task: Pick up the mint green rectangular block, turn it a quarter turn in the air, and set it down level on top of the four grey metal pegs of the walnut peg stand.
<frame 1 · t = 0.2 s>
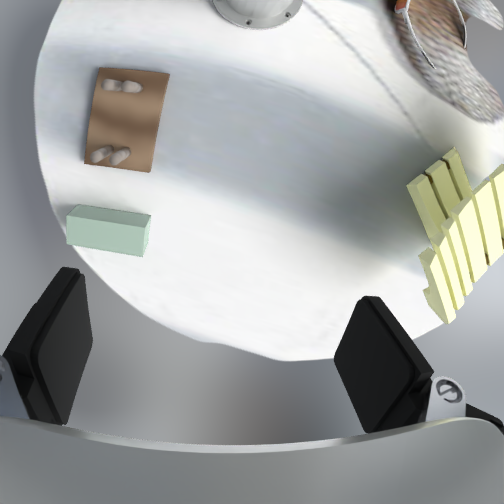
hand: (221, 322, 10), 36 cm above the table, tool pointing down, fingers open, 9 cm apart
slatted curved stool: (444, 199, 51), on the table
peg stand: (125, 118, 38), on the table
mint green rectangular block: (112, 222, 45), on the table
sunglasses: (428, 22, 35), on the table
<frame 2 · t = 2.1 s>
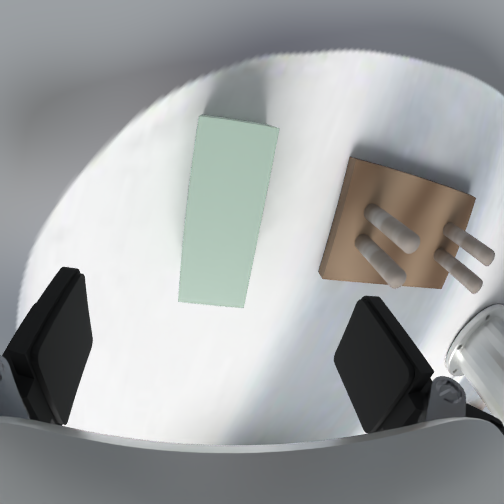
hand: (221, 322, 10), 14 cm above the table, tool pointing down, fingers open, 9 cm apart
peg stand: (402, 229, 26), on the table
mint green rectangular block: (221, 198, 23), on the table
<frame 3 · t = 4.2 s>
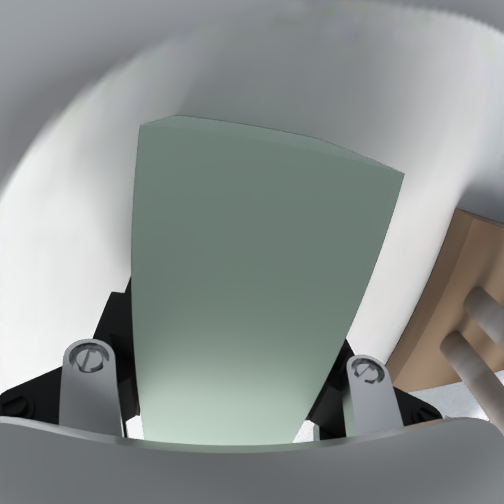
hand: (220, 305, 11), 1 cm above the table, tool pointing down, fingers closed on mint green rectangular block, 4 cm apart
peg stand: (493, 307, 15), on the table
mint green rectangular block: (219, 292, 12), on the table, touching gripper
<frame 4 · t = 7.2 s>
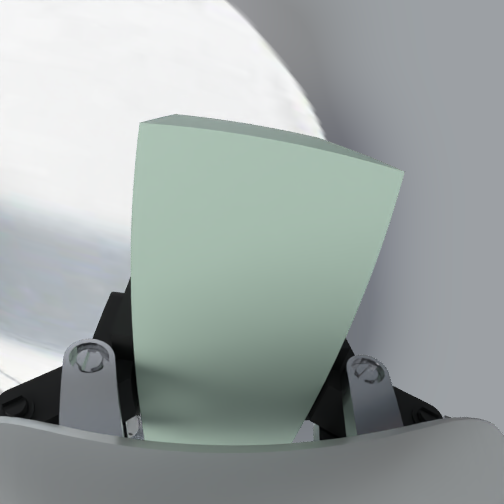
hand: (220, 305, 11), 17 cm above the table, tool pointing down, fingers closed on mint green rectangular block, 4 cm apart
mint green rectangular block: (219, 292, 12), point 16 cm above the table, touching gripper
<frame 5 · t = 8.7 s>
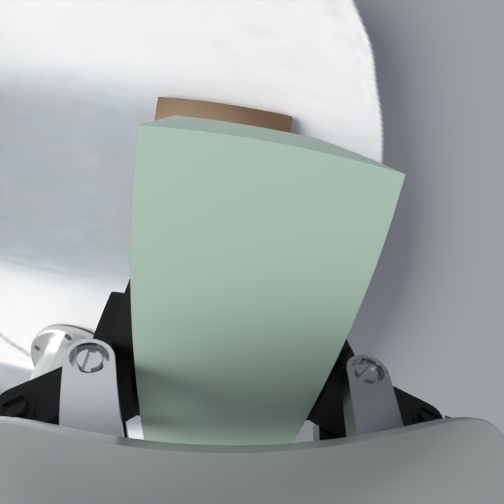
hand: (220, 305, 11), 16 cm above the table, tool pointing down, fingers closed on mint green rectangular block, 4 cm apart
peg stand: (211, 190, 25), on the table
mint green rectangular block: (219, 293, 12), point 15 cm above the table, touching gripper
when the fingers open (9 cm above the table, at t = 10.2 s): mint green rectangular block stays where it is, resting on peg stand.
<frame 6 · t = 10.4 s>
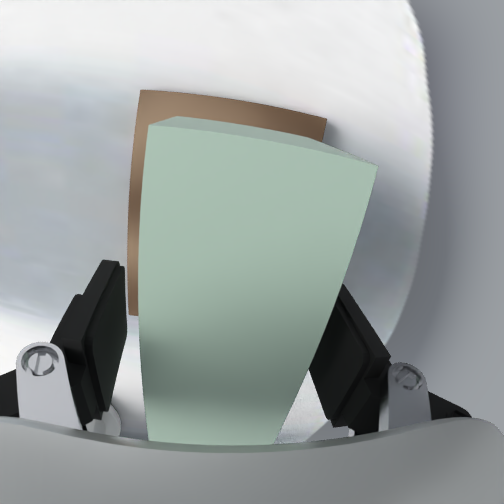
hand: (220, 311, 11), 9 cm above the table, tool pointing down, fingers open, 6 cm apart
peg stand: (214, 217, 19), on the table
mint green rectangular block: (217, 281, 12), point 7 cm above the table, touching peg stand
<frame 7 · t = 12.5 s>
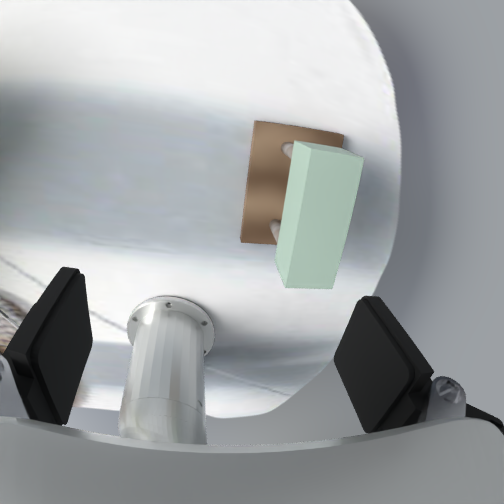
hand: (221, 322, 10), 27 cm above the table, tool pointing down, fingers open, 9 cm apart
peg stand: (289, 185, 36), on the table
mint green rectangular block: (307, 205, 30), point 7 cm above the table, touching peg stand
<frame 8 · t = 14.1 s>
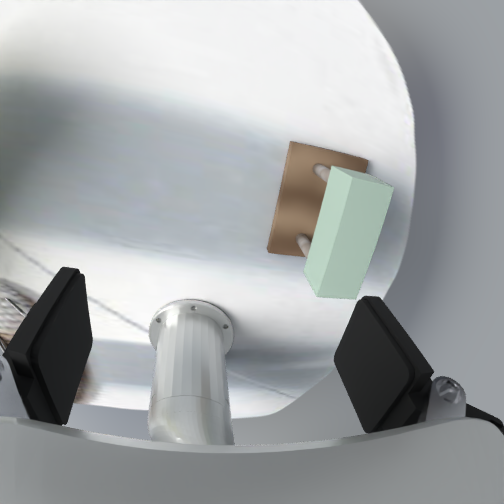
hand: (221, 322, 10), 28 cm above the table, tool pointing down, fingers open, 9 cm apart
peg stand: (316, 203, 39), on the table
mint green rectangular block: (336, 224, 33), point 7 cm above the table, touching peg stand
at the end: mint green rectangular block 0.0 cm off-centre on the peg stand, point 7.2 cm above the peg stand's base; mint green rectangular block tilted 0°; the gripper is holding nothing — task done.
